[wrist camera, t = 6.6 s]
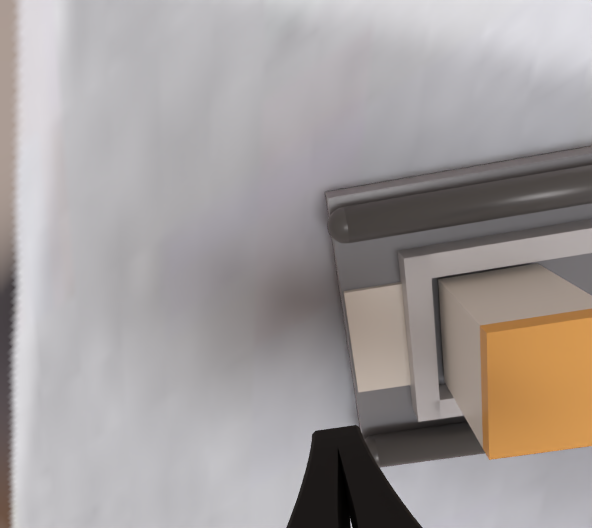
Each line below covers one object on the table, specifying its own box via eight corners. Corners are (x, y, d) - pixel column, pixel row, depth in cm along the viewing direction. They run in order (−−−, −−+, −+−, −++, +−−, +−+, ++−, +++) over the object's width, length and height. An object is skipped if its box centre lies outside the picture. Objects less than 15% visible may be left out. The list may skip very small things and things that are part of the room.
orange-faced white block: (537, 263, 17) (621, 312, 12) (534, 368, 18) (607, 443, 14) (438, 279, 17) (486, 333, 13) (444, 381, 18) (489, 459, 14)
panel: (827, 105, 16) (934, 102, 14) (761, 379, 21) (832, 418, 18) (320, 192, 17) (325, 206, 15) (357, 435, 22) (366, 481, 19)
